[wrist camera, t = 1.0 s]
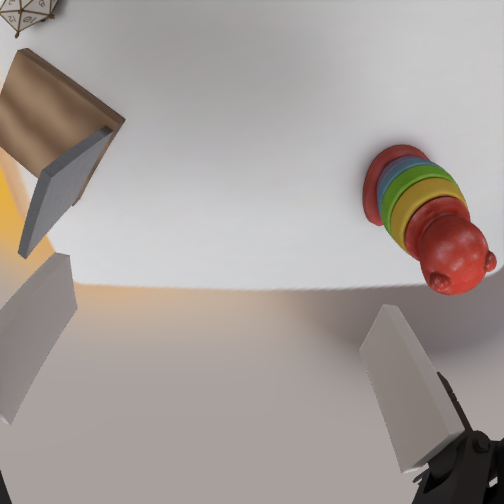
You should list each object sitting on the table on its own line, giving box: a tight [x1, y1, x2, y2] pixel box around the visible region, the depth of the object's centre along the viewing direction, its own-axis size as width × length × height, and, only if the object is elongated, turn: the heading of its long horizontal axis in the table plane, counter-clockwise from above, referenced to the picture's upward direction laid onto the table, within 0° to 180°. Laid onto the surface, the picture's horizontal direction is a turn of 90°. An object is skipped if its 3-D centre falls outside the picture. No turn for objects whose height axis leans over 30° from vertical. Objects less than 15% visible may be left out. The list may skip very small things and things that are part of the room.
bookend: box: [18, 125, 114, 259], centre depth 27 cm, size 12×1×12 cm, turn 137°
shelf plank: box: [0, 48, 126, 206], centre depth 29 cm, size 14×19×2 cm
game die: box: [0, 0, 58, 38], centre depth 16 cm, size 9×8×10 cm
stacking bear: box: [363, 145, 497, 295], centre depth 26 cm, size 11×10×18 cm
